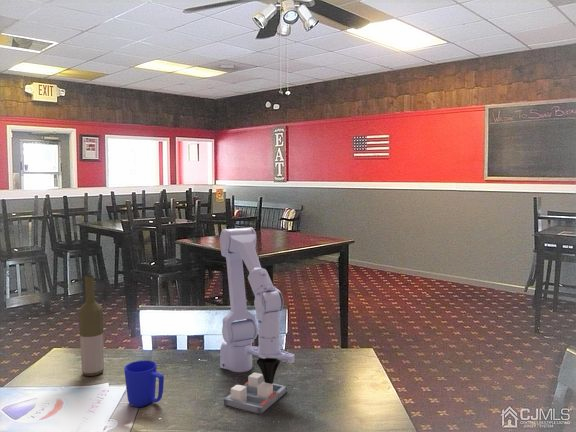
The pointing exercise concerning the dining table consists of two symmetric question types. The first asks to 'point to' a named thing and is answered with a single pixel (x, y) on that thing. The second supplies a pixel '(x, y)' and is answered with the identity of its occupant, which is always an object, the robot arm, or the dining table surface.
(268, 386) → the tab mid
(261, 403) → the switch bank
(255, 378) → the tab far
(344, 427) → the dining table surface
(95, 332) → the bottle
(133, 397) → the mug
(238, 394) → the tab near
